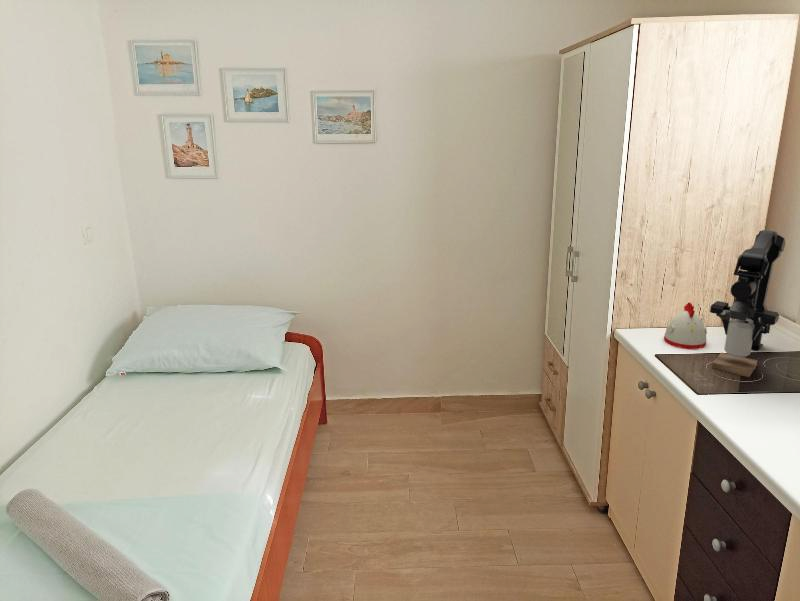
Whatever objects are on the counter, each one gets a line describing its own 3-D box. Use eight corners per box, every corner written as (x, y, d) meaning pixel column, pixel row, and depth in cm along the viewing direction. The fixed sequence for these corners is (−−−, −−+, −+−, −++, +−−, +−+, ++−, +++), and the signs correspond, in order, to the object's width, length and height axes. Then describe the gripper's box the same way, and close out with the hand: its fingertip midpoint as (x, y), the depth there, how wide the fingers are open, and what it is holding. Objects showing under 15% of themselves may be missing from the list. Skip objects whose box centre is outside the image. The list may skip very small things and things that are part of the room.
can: (752, 359, 193) (759, 324, 189) (727, 357, 195) (733, 323, 191) (745, 350, 200) (751, 316, 196) (721, 348, 202) (726, 315, 198)
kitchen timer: (670, 348, 215) (675, 309, 210) (659, 334, 228) (664, 296, 223) (711, 349, 213) (717, 309, 208) (697, 335, 226) (703, 297, 221)
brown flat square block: (720, 359, 206) (721, 352, 206) (756, 367, 200) (757, 360, 199) (711, 369, 199) (712, 362, 198) (749, 378, 192) (750, 371, 191)
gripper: (707, 291, 191) (700, 337, 196) (774, 304, 179) (765, 352, 184) (718, 284, 199) (712, 328, 204) (783, 295, 187) (774, 341, 192)
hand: (739, 337), depth 196 cm, fingers closed on can, 7 cm apart
